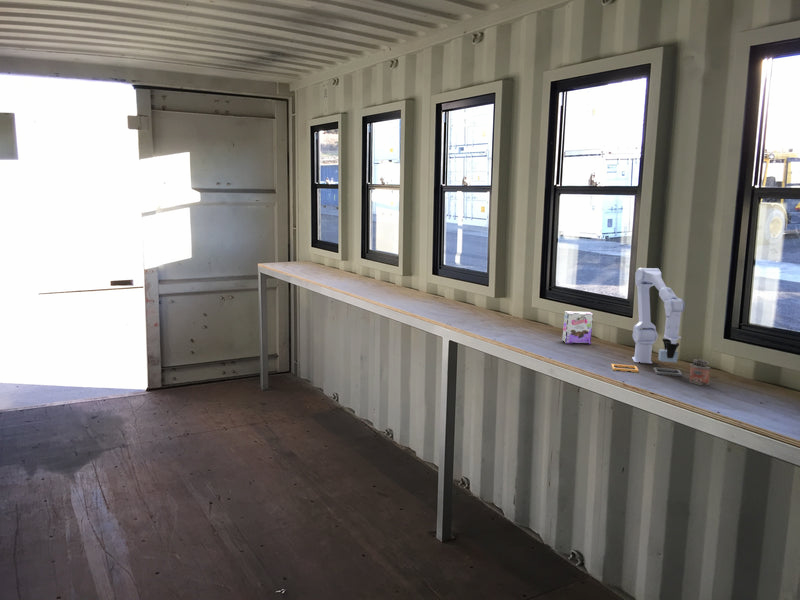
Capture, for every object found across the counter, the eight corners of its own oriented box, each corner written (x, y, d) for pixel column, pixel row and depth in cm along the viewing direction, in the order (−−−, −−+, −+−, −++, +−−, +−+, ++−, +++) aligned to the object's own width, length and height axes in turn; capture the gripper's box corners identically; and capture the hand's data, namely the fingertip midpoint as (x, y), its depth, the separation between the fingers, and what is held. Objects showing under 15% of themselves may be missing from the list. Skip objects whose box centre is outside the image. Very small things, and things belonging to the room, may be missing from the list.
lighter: (686, 381, 269) (689, 358, 267) (690, 380, 271) (693, 357, 269) (706, 386, 263) (708, 362, 261) (709, 384, 265) (712, 361, 263)
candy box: (565, 343, 335) (567, 312, 332) (561, 341, 340) (564, 310, 338) (591, 344, 335) (593, 313, 333) (587, 341, 341) (589, 311, 339)
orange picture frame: (611, 365, 291) (611, 363, 290) (635, 368, 288) (636, 365, 288) (613, 370, 283) (613, 368, 283) (638, 372, 280) (638, 370, 280)
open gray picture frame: (653, 369, 287) (653, 367, 286) (678, 371, 284) (678, 369, 284) (656, 374, 279) (656, 371, 279) (682, 376, 276) (682, 374, 276)
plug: (658, 358, 284) (659, 347, 283) (675, 360, 282) (676, 348, 282) (659, 361, 279) (661, 349, 279) (677, 362, 278) (678, 350, 277)
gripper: (685, 330, 270) (682, 361, 273) (678, 324, 284) (675, 353, 287) (667, 328, 272) (664, 359, 274) (662, 322, 286) (658, 352, 288)
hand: (669, 356), depth 280 cm, fingers closed on plug, 4 cm apart
